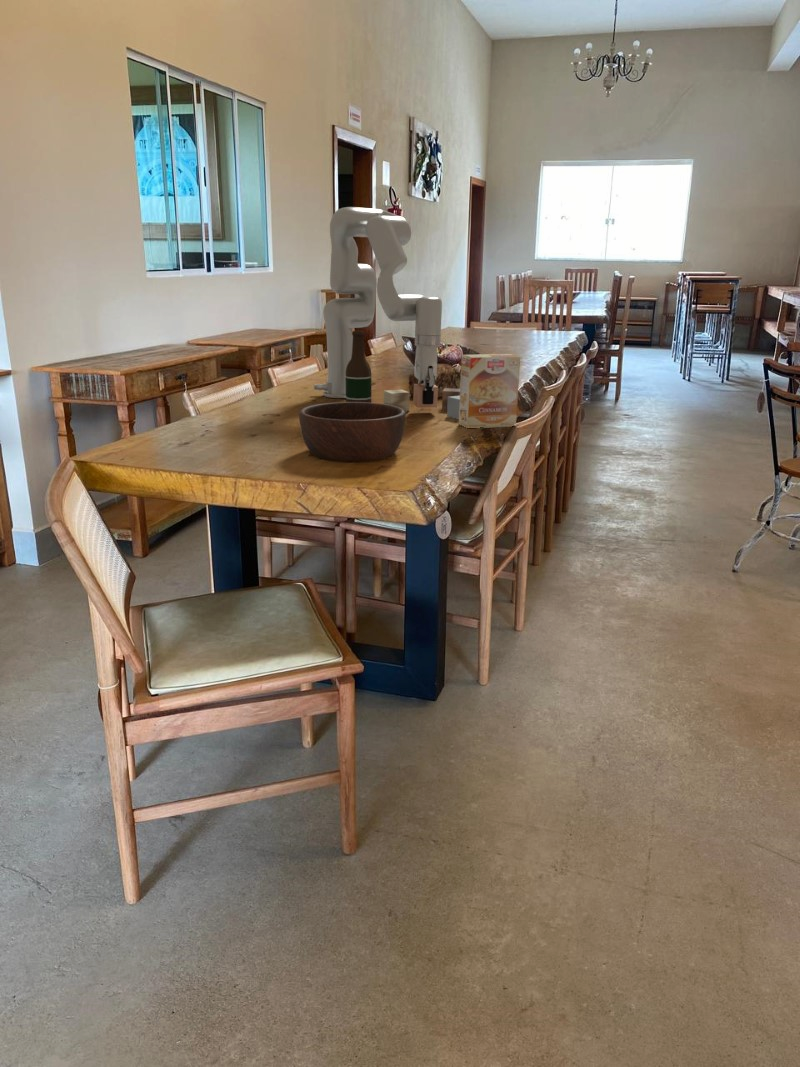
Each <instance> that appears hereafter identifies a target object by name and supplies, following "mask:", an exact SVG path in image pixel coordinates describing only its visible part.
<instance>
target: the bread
mask: <svg viewBox="0 0 800 1067" xmlns="http://www.w3.org/2000/svg"><path fill="white" fill-rule="evenodd" d="M428 380H429V379H428ZM418 381H419V380H418V379H417V378H416V377H415V376H414V370H413V371H412V372H410V374H409V376H408V389H409V390H408V392H410V397H414V384H418ZM460 381H461V371H460V370H459V369H458V368H456V367H455V366H453V365H451V364H448V363H437V376H436V380H435V381H434V385H436V386H437V387H438V397H440V398H442V397H441V396H442V392H443V390H444V388H452V389H460Z"/></svg>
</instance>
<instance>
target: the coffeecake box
mask: <svg viewBox="0 0 800 1067" xmlns="http://www.w3.org/2000/svg"><path fill="white" fill-rule="evenodd" d="M520 368H521V356H520V355H517V354H512V353H489V354H488V353H487V354H486V353H484V354H483V353H481V354H461V364H460V373H461V374H460V376H461V377H460V378H461V381H460V384H459V386H460V387H459V389H460V405H459V420H458V425H459V424H460V425H459V426H461V425H462V427H463V426H464V427H463V428H465V427H466V428H465V429H467V428H477V429H481V428H480V427H484V428H483V429H488V428H489V429H490V428H494V429H495V428H512V426H513V425H514V424H516V425H517V414H518V400H519V399H518V398H519V382H520V370H521V369H520Z"/></svg>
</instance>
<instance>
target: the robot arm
mask: <svg viewBox="0 0 800 1067" xmlns="http://www.w3.org/2000/svg"><path fill="white" fill-rule="evenodd" d="M329 234H330V235H329V236H330V242H331V243H330V245H331V254H330V268H329V269H330V270H329V273H330V274H329V285H330V288H331V291H332V292H333V293H335V294H338V295H354V297H352V298H351V297H340V298H339V297H337V298H333V299H330V300H328V301H327V302H326V303H325V305H324V307H323V312H322V314H323V319H324V325H325V332H326V349H327V350H326V353H327V354H326V355H327V357H326V358H327V360H326V361H327V380H326V381H325V382H324V383H322V384H321V383H317V384H316V383H314V384H313V390H314V391H323V396H324V397H326V398H330V399H331V398H333V399H346V368H347V365H348V363H349V361H350V360H351V357H352V345H353V335H352V332H353V331H352V330H351V329H356V328H357V329H359V328H366V327H369V326H370V325H371V323H372V322H373V320H374V317H375V310H376V308H375V307H376V299H377V298H378V300H379V302H380V306H381V308H382V310H383V312H384V314H385V316H387V318H388V319H389V320H391V321H393V322H408V321H409V322H413V321H414V324H415V325H414V326H415V327H414V346H415V347H416V349H415V360H414V370H413V371H414V376H415V377H416V378H417V379H418V380H419V381H418V384H424V391H423V400H422V403H423V404H433V398H434V381H435V380H436V376H437V364H438V348H439V347H441V337H442V335H441V334H442V333H441V332H442V310H443V302H442V301H443V300H442V299H441V298H440V297H437V296H426V295H423V294H417V293H416V294H414V293H413V294H412V293H408V294H406V293H405V294H403V293H402V294H398V292H397V289H396V287H395V285H394V284H395V283H394V280H393V279H394V278H393V277H394V275H396V274H398V273H399V272H401V271H402V270H403V269H404V268H405V267H406V265H407V264H408V259H407V258H408V257H407V255H406V253H405V250H404V248H403V246H406V245H407V244H408V243H409V242H410V240H411V236H412V228H411V226H410V223H409V222H408V220H407V219H406V218H405V217H403V216H401V215H397V214H395V213H392V212H390V211H387V210H384V209H380V208H370V207H359V206H358V207H357V206H346V207H341V208H338V209H336V211H335V212H334V213H333V215H332V217H331V219H330V223H329ZM355 237H357V238H358V237H359V238H367V239H368V241H369V244H370V246H371V249H372V251H373V254H374V257H375V258H376V261H377V264H378V266H379V269H380V271H379V272H380V273H379V274H378V278H377V275H376V272H375V269H374V268H373V267H372V266H371V265H369V264H367V263H359V262H358V261H359V260H358V257H359V249H358V245H357V243H356V240H355V239H354V238H355ZM376 297H377V298H376ZM428 379H429V380H428ZM426 384H427V386H426Z"/></svg>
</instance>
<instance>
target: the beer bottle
mask: <svg viewBox="0 0 800 1067" xmlns="http://www.w3.org/2000/svg"><path fill="white" fill-rule="evenodd" d="M351 332H352V335H353V345H352V357H351V360H350V361H349V363H348V365H347V368H346V398H345V402H369V403H372V369H371V366H370V364H369V362H368V361H367V359H366V351H365V338H364V337H365V335H366V334H365V331H363V330H353V331H351Z"/></svg>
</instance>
